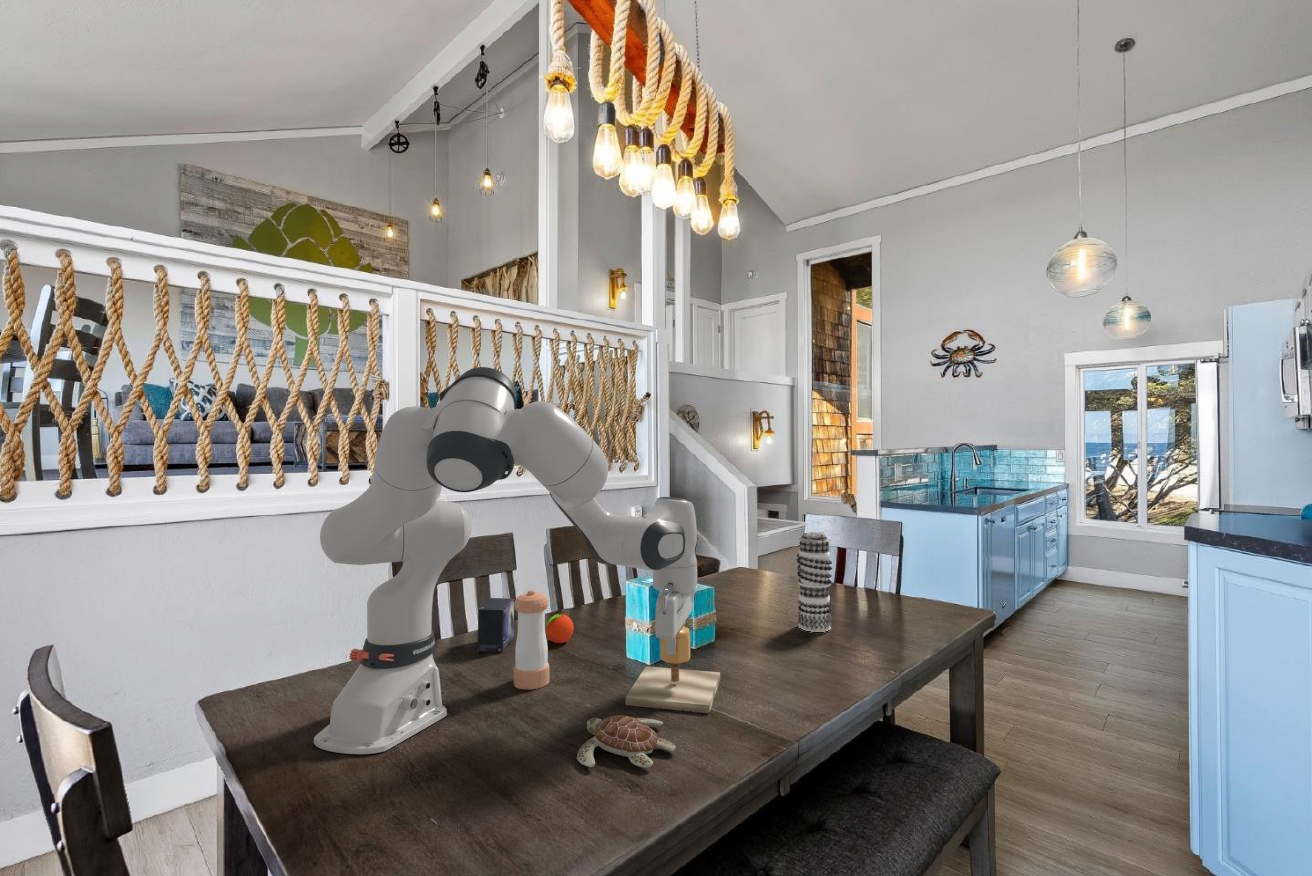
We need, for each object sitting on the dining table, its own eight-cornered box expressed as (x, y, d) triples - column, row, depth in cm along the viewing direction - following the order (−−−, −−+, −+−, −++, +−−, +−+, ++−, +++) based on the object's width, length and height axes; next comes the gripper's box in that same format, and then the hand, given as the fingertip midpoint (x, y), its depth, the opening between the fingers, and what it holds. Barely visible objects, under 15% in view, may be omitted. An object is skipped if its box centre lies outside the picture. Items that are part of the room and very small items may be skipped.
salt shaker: (541, 691, 122) (540, 595, 122) (507, 688, 124) (507, 594, 124) (554, 677, 129) (554, 586, 129) (522, 674, 131) (522, 585, 131)
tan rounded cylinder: (686, 664, 118) (686, 635, 118) (658, 662, 119) (658, 633, 119) (691, 654, 124) (691, 626, 124) (664, 652, 125) (664, 624, 125)
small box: (504, 653, 144) (503, 609, 144) (476, 653, 144) (476, 609, 144) (515, 638, 154) (515, 597, 154) (489, 638, 155) (489, 597, 155)
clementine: (556, 650, 146) (555, 620, 146) (536, 644, 150) (536, 615, 150) (579, 641, 152) (579, 613, 152) (560, 636, 156) (559, 608, 156)
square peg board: (709, 713, 112) (709, 683, 112) (625, 705, 116) (625, 676, 116) (720, 679, 128) (720, 653, 128) (646, 673, 131) (646, 647, 131)
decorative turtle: (622, 715, 113) (622, 688, 112) (696, 743, 102) (696, 713, 102) (547, 755, 98) (547, 724, 98) (624, 793, 88) (624, 758, 88)
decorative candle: (789, 625, 164) (789, 532, 164) (816, 620, 168) (816, 530, 168) (811, 635, 156) (811, 537, 156) (839, 630, 160) (839, 534, 160)
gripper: (680, 591, 111) (680, 668, 111) (698, 568, 130) (699, 632, 130) (646, 589, 112) (647, 665, 112) (670, 567, 132) (670, 630, 132)
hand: (675, 647), depth 121 cm, fingers closed on tan rounded cylinder, 6 cm apart
